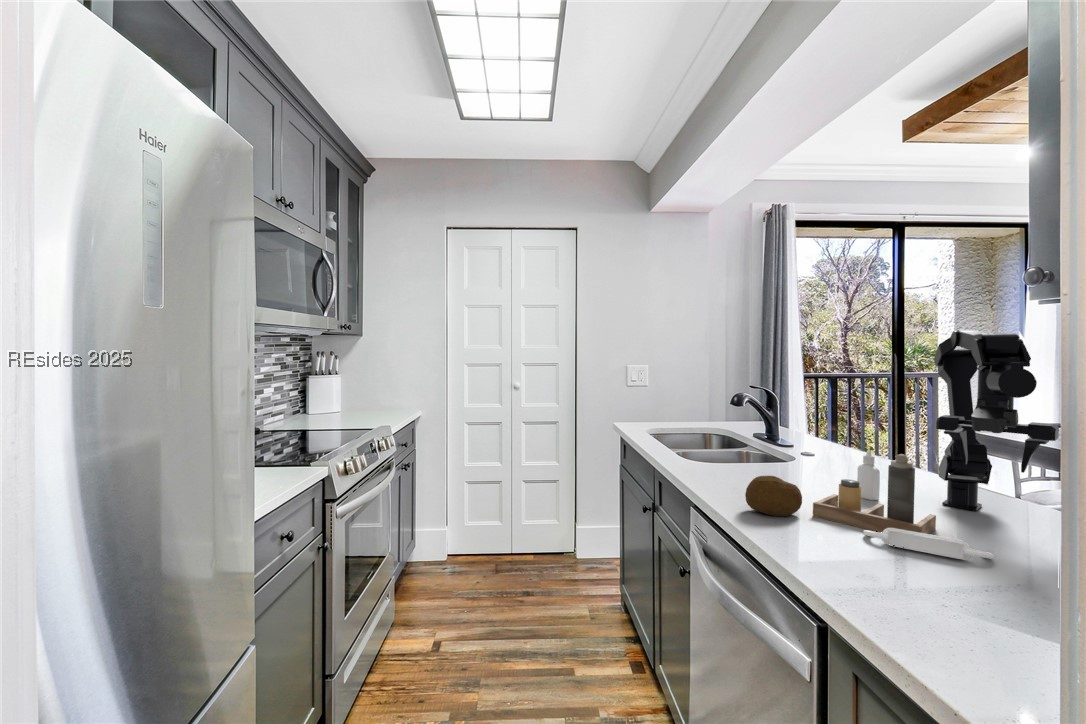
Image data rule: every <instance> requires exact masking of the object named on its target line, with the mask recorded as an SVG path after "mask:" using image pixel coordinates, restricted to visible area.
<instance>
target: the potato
mask: <svg viewBox="0 0 1086 724" xmlns="http://www.w3.org/2000/svg"><path fill="white" fill-rule="evenodd" d="M744 496H745V502H746V504H747V505H748V506H749V508H751V509H752V510H754V511H756V512H759V513H763V514H765V515H770V516H776V517H786V516H787V517H789V516H792V515H793V514H795V513H796V512H798V511H799V509H801V507H802V504H803V494H802V492H801V490H800V488H799V487H798V486H797V484H794V483H790V482H788V481H786V480H783V479H782V478H780V477H778V476H775V475H759V476H756V477H754V478H753V479H752V480H751V481H750V482H749V483H748V485H747V487H746V489H745V495H744Z"/></svg>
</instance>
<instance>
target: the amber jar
mask: <svg viewBox="0 0 1086 724" xmlns="http://www.w3.org/2000/svg"><path fill="white" fill-rule="evenodd" d="M859 484H860V482H858V481H857V480H855V479H848V478H847V479H845V478H844V479H840V482H839V483H838V507H841V508H845V509H850V510H854V511H859V512H862V497H861V488H862V487H861V486H859Z"/></svg>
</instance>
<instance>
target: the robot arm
mask: <svg viewBox="0 0 1086 724" xmlns="http://www.w3.org/2000/svg"><path fill="white" fill-rule="evenodd" d="M933 360H934V361H933V362H934V366H936V367H937V373H938V376H940V378H941V379H942V380H943V381H944V382H945V383H946V386H947V387H946V389H947V399H948V411H949V412H948V413H949V414H944V415H941V416H939V417H938V418H937V419H936V422H935V425H936V426H935V429H936V430H941V431H943V434H944V435H949V437H951V441H950V442H949V443H948V445H947V446H946V448H945V450H944V455H943V456H942V459H941V461H940V464H939V465H938V467H937V468H938V469H937V470H938V477H939V478H940V479H942V480H943V481H946V482H947V487H946V488H947V490H946V493H947V495H946V496H947V497H946V499H945V500H944V501H943V502H942V503H941V504H942V505H943V506H947V507H953V508H958V509H964V510H968V511H973V512H977V511H978V510H979V509H980V508H981V507H983V505H982V503H979V502H978V496H979V494H978V493H979V491H978V490H979V484H984V485H989V482H990V479H991V473H992V468H993V464H992V462H991V460H990V458H988V449H987V446H986V445H985V444H981V443H980V441H979V440H978V439H977V435H976V432H991V433H993V434H1002V433H1008V434H1009V433H1010V434H1018V435H1027V437H1028V438H1026V439H1025V441H1024V448H1023V453H1022V454H1023V455H1022V459H1021V464H1020V465H1021V467H1020V469H1021V470H1020V472H1021V473H1025V472H1026V471H1027V468H1028V466H1029V463H1030V462H1031V460H1032V458H1033V455H1034V454H1035V452H1036V451H1037V449H1038V448H1039V447H1040V446H1041V445H1046V444H1048V443H1049V442H1051V441H1052V442H1055V441H1057V440H1058V439H1059V436H1060V435H1059V434H1060V433H1059V432H1060V429H1059V426H1058V425H1056V424H1055V423H1044V422H1036V421H1035V422H1034V421H1032V422H1030V423H1028V424H1026V425H1025V424H1019V413H1018V409H1014V403H1015V399H1019V398H1025V397H1027V396H1029V395H1031V394H1032V393H1033V392H1034V391H1035V389H1036V387H1037V381H1038V380H1037V379H1036V377H1035V375H1034V374H1033V373H1032V372H1031V371H1029V370H1027V369H1026V368H1027V367H1030V366H1031V360H1032V358H1031V355H1030V353H1029V351H1028V349H1027V346H1026V345H1025V344H1024V340H1023V339H1022V338H1020V336H1019V334H1017V333H986V332H982V331H980V330H977V329H957V330H953V331H952V332H951V335H950V337H948V338H947V339H945V340H944V341H942V342H940V343H939V344H938V345H937V348H936V351H935V353H934V358H933ZM1024 367H1026V368H1024ZM976 372H977V373H978V374H977V395H976V397H977V400H976V405H975V407H974V404H973V394H972V386H971V380H972V378H973V377H974V376H975V374H976ZM1014 398H1015V399H1014Z"/></svg>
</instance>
